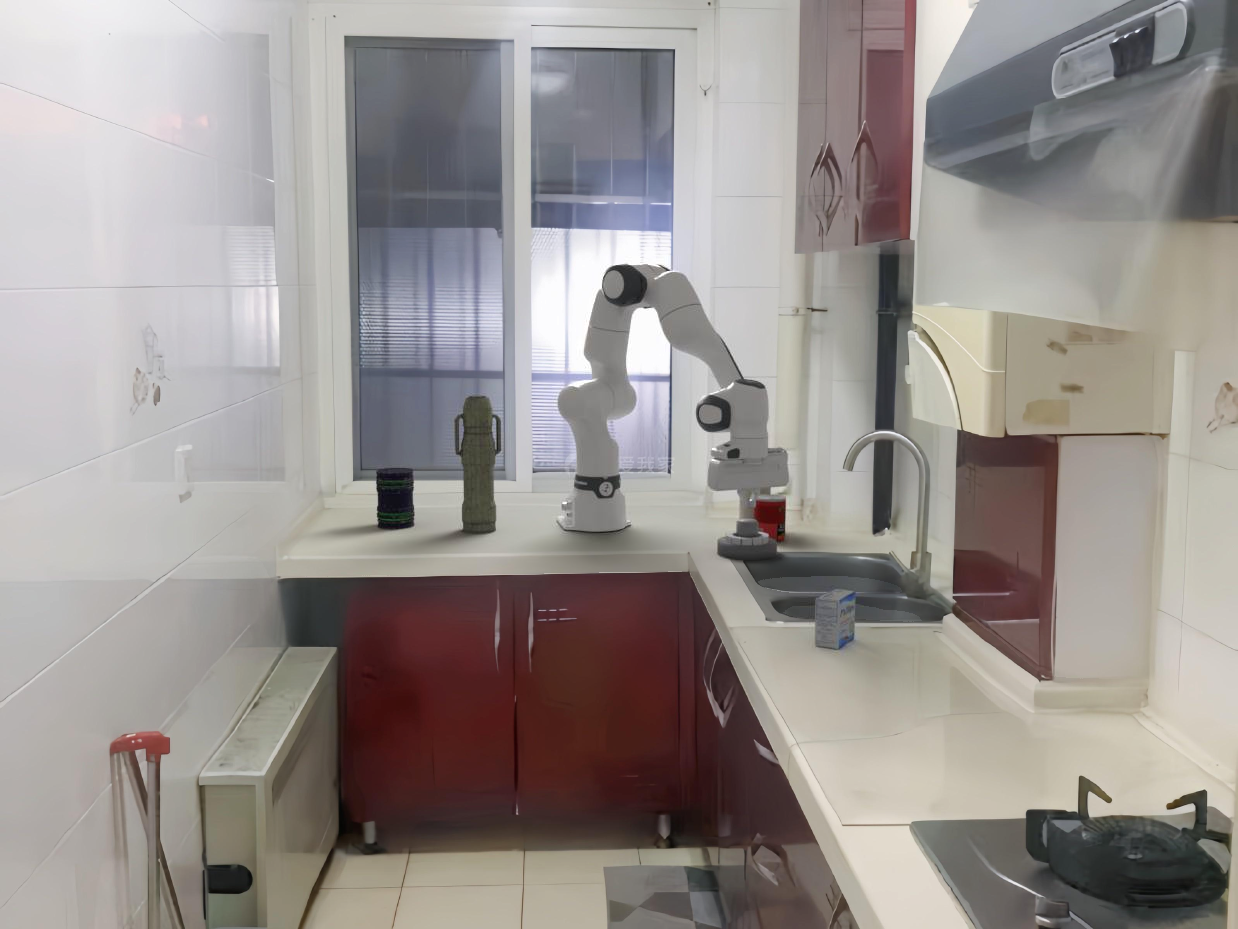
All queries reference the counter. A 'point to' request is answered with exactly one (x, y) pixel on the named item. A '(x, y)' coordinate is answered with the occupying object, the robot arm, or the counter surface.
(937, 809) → the counter surface
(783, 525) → the canned food
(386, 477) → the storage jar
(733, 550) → the grey round peg base
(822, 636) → the medicine box
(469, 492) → the thermos
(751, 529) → the cap
